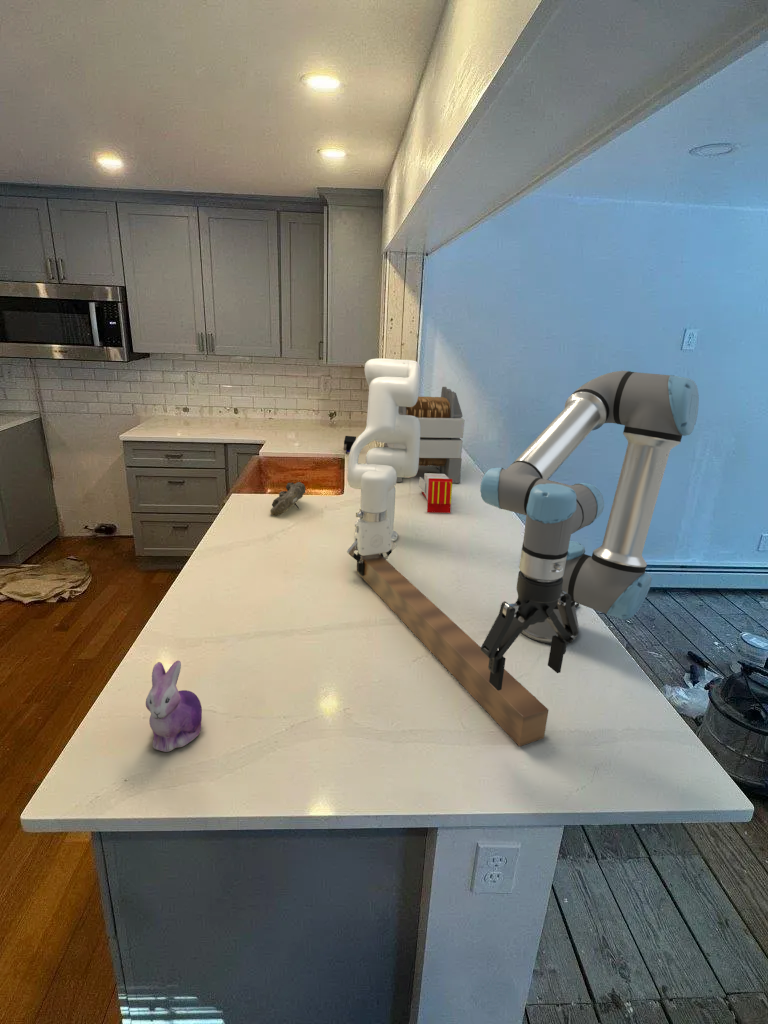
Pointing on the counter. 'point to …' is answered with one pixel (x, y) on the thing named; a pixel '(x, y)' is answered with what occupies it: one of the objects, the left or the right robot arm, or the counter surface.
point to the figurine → (172, 710)
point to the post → (458, 653)
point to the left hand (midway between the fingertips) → (371, 571)
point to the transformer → (438, 432)
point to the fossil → (288, 498)
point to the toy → (437, 492)
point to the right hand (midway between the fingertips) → (525, 677)
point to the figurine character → (348, 443)
